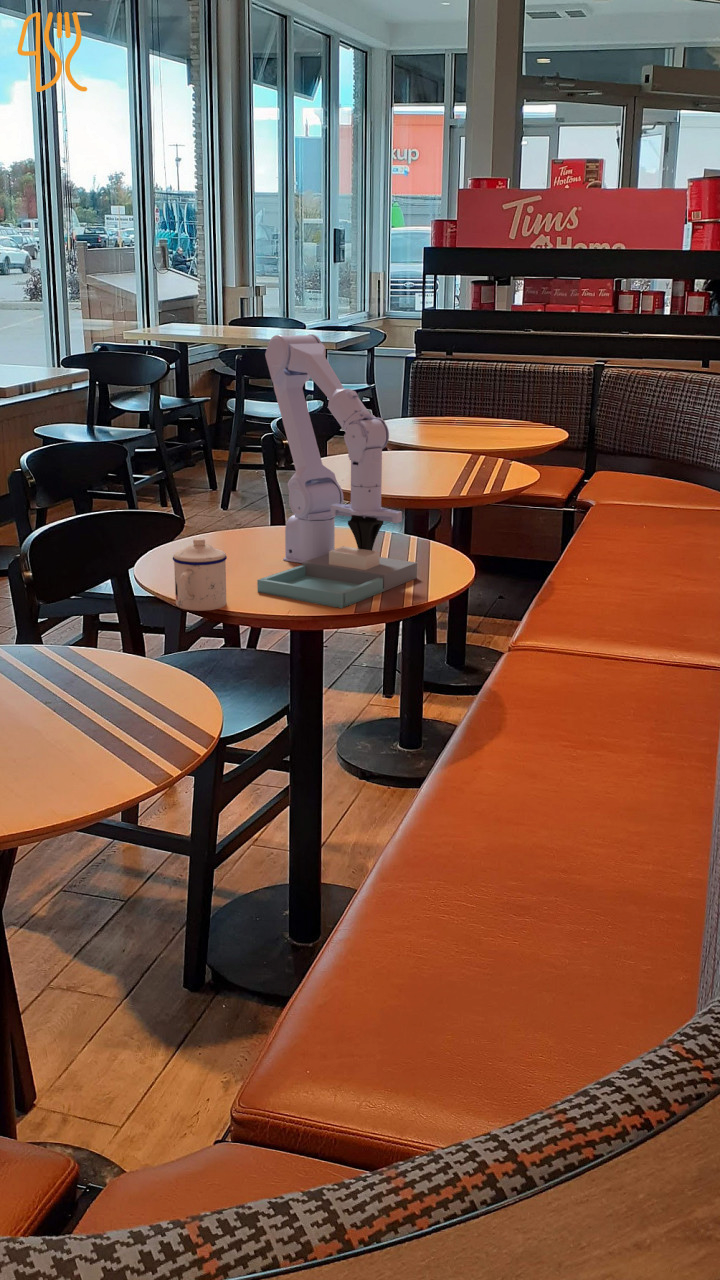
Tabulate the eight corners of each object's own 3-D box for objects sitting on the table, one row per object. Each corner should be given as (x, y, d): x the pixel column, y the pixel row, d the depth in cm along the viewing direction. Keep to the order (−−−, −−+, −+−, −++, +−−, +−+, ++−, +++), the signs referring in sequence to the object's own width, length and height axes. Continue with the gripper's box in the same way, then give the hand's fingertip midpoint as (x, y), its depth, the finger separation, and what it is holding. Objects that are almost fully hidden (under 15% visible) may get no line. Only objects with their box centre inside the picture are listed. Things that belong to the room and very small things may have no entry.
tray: (257, 593, 204) (257, 579, 203) (302, 577, 215) (302, 564, 214) (341, 608, 195) (341, 594, 194) (384, 591, 206) (384, 577, 205)
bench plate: (302, 577, 215) (302, 562, 214) (337, 565, 225) (337, 550, 224) (384, 591, 206) (384, 575, 205) (416, 578, 216) (417, 562, 215)
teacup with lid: (188, 597, 201) (185, 532, 198) (236, 601, 199) (234, 535, 195) (157, 614, 190) (154, 546, 187) (208, 619, 188) (206, 550, 184)
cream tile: (328, 564, 213) (328, 551, 212) (343, 559, 217) (343, 546, 216) (365, 570, 209) (365, 556, 208) (379, 564, 213) (379, 551, 212)
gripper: (321, 484, 212) (321, 555, 216) (388, 491, 205) (387, 565, 209) (342, 479, 218) (341, 548, 222) (408, 486, 211) (406, 558, 215)
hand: (365, 556), depth 216 cm, fingers closed
